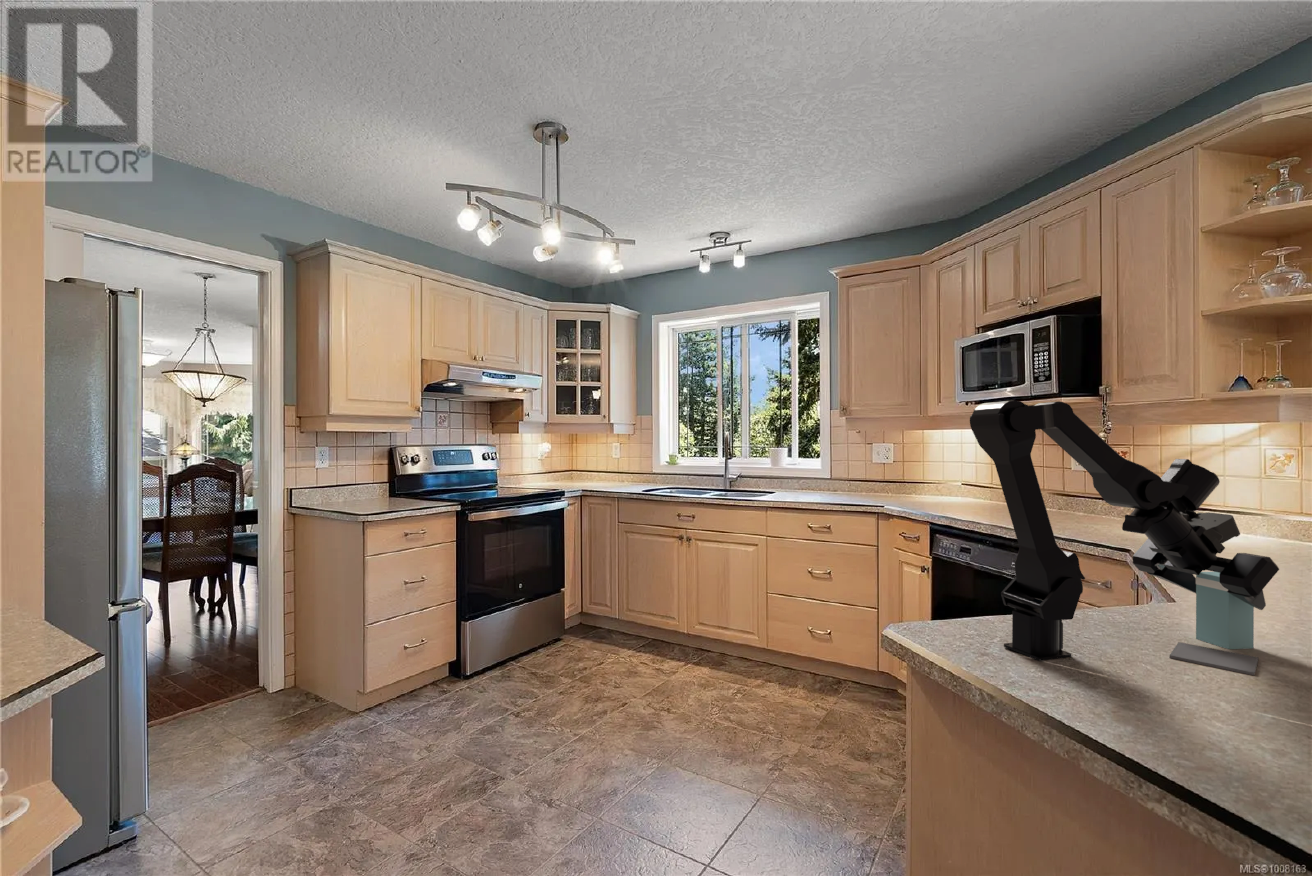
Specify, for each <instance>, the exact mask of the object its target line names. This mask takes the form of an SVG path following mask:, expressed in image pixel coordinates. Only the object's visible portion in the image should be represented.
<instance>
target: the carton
mask: <svg viewBox="0 0 1312 876" xmlns="http://www.w3.org/2000/svg"><path fill="white" fill-rule="evenodd" d="M1195 578H1196V593H1195V639H1196V640H1198V641H1202V642H1204V643H1208V644H1211V645H1214V646H1217V647H1221V648H1222V649H1223V648H1224V649H1225V650H1243V649H1245V650H1248V649H1254V647H1255V646H1254V645H1255V643H1254V642H1255V640H1254V636H1255V635H1254V629H1255V628H1254V625H1255V624H1254V623H1255V622H1254V617H1255V612H1254V611H1255V610H1254V609H1255V607H1253V606H1251V605H1249V604H1248V603H1246V602H1244V601H1242V600H1240V599H1239V598H1237V597H1235V596H1233V595H1231V594H1230V593H1228V592H1227V591H1228V589H1226V588H1224V587H1223V586H1222V585H1221V583H1220V573H1219V572H1214V571H1202V572H1201V573H1200V574H1199V575H1195Z"/></svg>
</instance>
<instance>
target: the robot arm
mask: <svg viewBox="0 0 1312 876" xmlns="http://www.w3.org/2000/svg"><path fill="white" fill-rule="evenodd" d="M969 425H970V429H971V431H972V433H973V435H974V437H975V440H976V441H977V444H978V445H979V447H980V448H981V449H982V450H983V451H984V452H985V453H986V454H987V455H988V457H989V458H990V459H991V460H992V461H993V463H994V466H995V469H996V472H997V476H998V479H999V483H1000V486H1001V490H1002V492H1003V496H1004V499H1005V504H1006V505H1007V510H1008V513H1009V517H1010V519H1011V520H1010V521H1011V523H1012V527H1013V530H1014V534H1015V537H1016V540H1017V544H1018V548H1019V549H1018V551H1017V554H1016V558H1015V561H1014V570H1015V571H1014V572H1015V576H1014V578H1013V579H1012V580H1011V581H1010V582H1009V583H1008V584H1007V585H1006V586H1005V587H1004V589H1003V590H1002V591H1001V592H1000V596H1001V599H1002V603H1003V605H1004V606H1007V607H1010V608H1013V609H1012V611H1011V612H1012V613H1011V614H1012V615H1011V616H1012V617H1011V619H1012V620H1011V621H1012V623H1011V625H1012V626H1011V630H1012V632H1011V634H1012V635H1011V636H1012V638H1011V640H1012V641H1011V642H1004V643H1003V647H1004V648H1006V649H1007V650H1011V651H1014V652H1016V653H1019V654H1021V655H1023V656H1026V657H1028V658H1032V659H1034V660H1037V661H1049V660H1056V659H1065V658H1072V653H1071V652H1068V651H1066V650H1063V649H1064V623H1063V621H1065V620H1068V621H1070V620H1074V619H1073V618H1074V616H1075V613H1076V609H1077V607H1078V604H1079V600H1080V598H1081V595H1082V594H1083V591H1084V586H1083V585H1084V584H1083V581H1082V580H1086V577H1085V576H1084V575H1083V573H1082V571H1081V567H1080V560H1079V557H1078V555H1077V553H1075V552H1071V551H1066V550H1063V549H1061V548H1060V546H1059V545H1058V543H1057V541H1056V538H1055V535H1054V531H1053V528H1052V525H1051V524H1052V523H1051V521H1050V518H1049V514H1048V510H1047V507H1046V504H1045V500H1044V497H1043V493H1042V490H1041V487H1040V484H1039V480H1038V475H1037V473H1036V469H1035V467H1034V466H1035V465H1034V463H1033V459H1032V455H1031V454H1032V451H1033V447H1034V443H1035V441H1036V437H1037V433H1036V430H1037V431H1038V430H1041V431H1042V432H1044V434H1046V435H1047V436H1048V437H1049V438H1050V439H1051V440H1052V441H1054V443H1056V444H1057V445H1058V446H1059V447H1060V448H1061V449H1062V450H1063V451H1064V452H1065V453H1066V454H1068V455H1069V456H1070V457H1071V458H1072V459H1073V460H1074V461H1075V462H1076V463H1077V464H1079V465H1080V466H1081V467H1082V468H1083V469H1084V470H1086V472H1088V474H1089V475H1090V477H1091V478H1092V485H1093V488H1094V489H1095V490H1096V492H1097V493H1098V494H1099V495H1100V497H1101V498H1102V499H1103V500H1104V501H1105V503H1107V504H1108V505H1109V506H1112V507H1121V508H1127V509H1128V508H1129V509H1133V511H1131V513H1130V514H1125V515H1124V521H1123V522H1122V527H1121V529H1122V531H1124V532H1127V533H1128V532H1129V533H1134V534H1135V533H1136V534H1140V535H1145V537H1147V539H1146V540H1145V541H1144V542H1143V544H1142V545H1141V546H1140V547H1139V548H1138V549H1137V550H1136V552H1135V553H1133V555H1132V564H1133V565H1134V566H1135V568H1137V570H1138V571H1140V572H1145V573H1147V575H1150V576H1152V577H1153V576H1154V577H1156V578H1158V579H1161V580H1163V581H1165V582H1168V583H1171V584H1173V585H1175V586H1178V587H1180V588H1183V589H1184V590H1186V591H1189V592H1192V593H1194V594H1196V575H1199V574H1200V573H1201V572H1205V571H1208V572H1219V573H1220V583H1221V585H1222V586H1223V587H1224V588H1226V589H1228V591H1227V592H1228V593H1230V594H1231V595H1233V596H1235V597H1237V598H1239V599H1240V600H1242V601H1244V602H1246V603H1248V604H1249V605H1251V606H1253V607H1254V609H1257V610H1259V611H1263V610H1264V609H1265V607H1266V606H1267V603H1266V599H1265V595H1264V589H1265V587H1266V586H1267V584H1269V582H1270V581H1271V580H1272V578H1274V576H1276V574H1277V573H1278V572H1279V571H1280V568H1279V566H1278V565H1277V564H1276V562H1275V561H1274V560H1273V559H1272V558H1271V557H1269V556H1264V555H1258V554H1253V553H1247V552H1237V553H1236V554H1235V555H1234V556H1233V558H1227V557H1226V558H1225V557H1221V556H1217V555H1218V554H1222V552H1223V551H1225V550H1226V547H1225V546H1224V545H1223V544H1224V543H1226V542H1228V541H1229V540H1231V539H1233V538H1238V537H1239V536H1240V535H1241V532H1240V529H1239V527H1238V524H1237V522H1236V520H1235V518H1234V516H1233V515H1232V514H1225V513H1218V512H1196V511H1197V510H1198V509H1199V508H1200V507H1201V506H1202V504H1204V502H1205V501H1206V500H1207V499H1208V497H1210V495H1211V494H1212V493H1213V492H1214V491H1215V489H1216V488H1217V487H1218V486H1219V485H1220V478H1219V477H1218V476H1219V475H1217V474H1216V473H1215V472H1213V471H1211V470H1209V469H1207V468H1205V467H1203V466H1200V465H1199V464H1195V463H1193V462H1192V461H1191V460H1190V459H1187V458H1175V459H1173V461H1172V462H1171V464H1170V466H1169V467H1168V469H1167V470H1166V471H1165V472H1164V474H1162V476H1159V475H1158V474H1156V473H1155V472H1153V470H1151V469H1149V468H1147V467H1145V466H1144V465H1141V464H1139V463H1136V462H1134V461H1132V460H1128V459H1126V458H1125V457H1124V456H1123V455H1122V456H1121V455H1120V454H1119V453H1118V452H1117V451H1116V450H1115V449H1114V448H1112V446H1110V444H1109V443H1107V442H1106V441H1105V440H1104V439H1103V438H1102V437H1101V436H1100V435H1099V434H1097V432H1096V431H1094V430H1093V429H1092V428H1091V427H1090V426H1089V425H1088V424H1087V423H1086V422H1084V421H1083V420H1082V419H1081V417H1079V416H1078V415H1077V414H1075V412H1074V410H1073V408H1072V406H1071V405H1070V404H1068V403H1067V402H1064V401H1059V400H1058V401H1049V402H1048V401H1047V402H1039V403H1037V404H1030V405H1029V404H1026V403H1024V402H1023V401H1020V400H1014V399H1013V400H1003V401H993V402H984V403H981V404H979V405H977V406H976V407H975V408H974V409H973V412H972V413H971V415H970V416H969ZM1035 599H1036V600H1039V601H1041V602H1039V601H1036V600H1035Z"/></svg>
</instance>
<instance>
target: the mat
mask: <svg viewBox="0 0 1312 876" xmlns="http://www.w3.org/2000/svg"><path fill="white" fill-rule="evenodd" d="M1169 658H1170V659H1173V660H1178V661H1183V662H1188V663H1191V664H1197V665H1200V666H1201V665H1203V666H1206V667H1211V668H1217V669H1222V670H1225V671H1232V672H1236V673H1241V674H1245V675H1250V676H1255V675H1256V670H1257V667H1258V663H1259V657H1258V656H1253V655H1247V654H1243V653H1237V652H1234V651H1228V650H1223V649H1222V650H1221V649H1217V648H1212V647H1208V646H1202V645H1197V644H1191V643H1186V642H1181V641H1178V642H1177V644H1176V645H1175V647H1174V648H1173V649H1172V651H1171V652H1170V654H1169Z"/></svg>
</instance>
